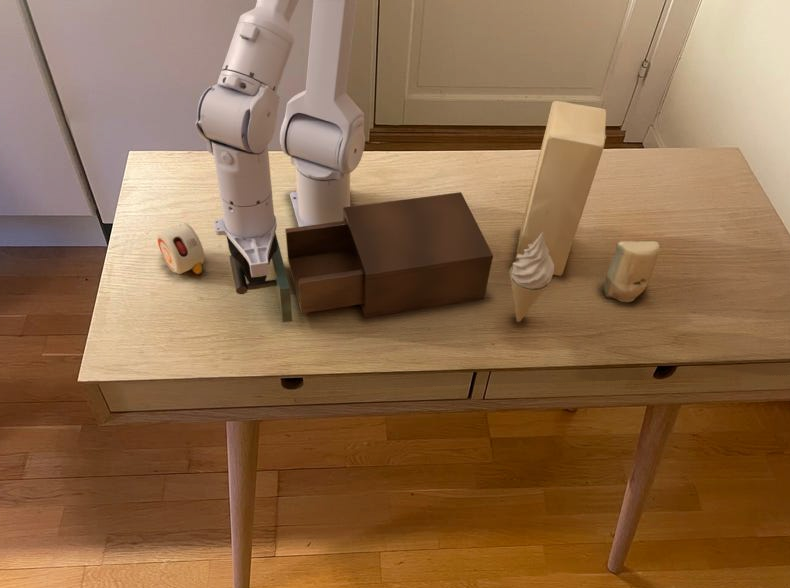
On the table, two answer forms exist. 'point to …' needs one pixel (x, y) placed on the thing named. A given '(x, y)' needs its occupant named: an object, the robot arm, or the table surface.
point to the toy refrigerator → (563, 178)
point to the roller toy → (181, 249)
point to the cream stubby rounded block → (630, 269)
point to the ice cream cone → (530, 276)
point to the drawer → (313, 270)
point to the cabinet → (419, 253)
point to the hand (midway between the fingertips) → (256, 278)
